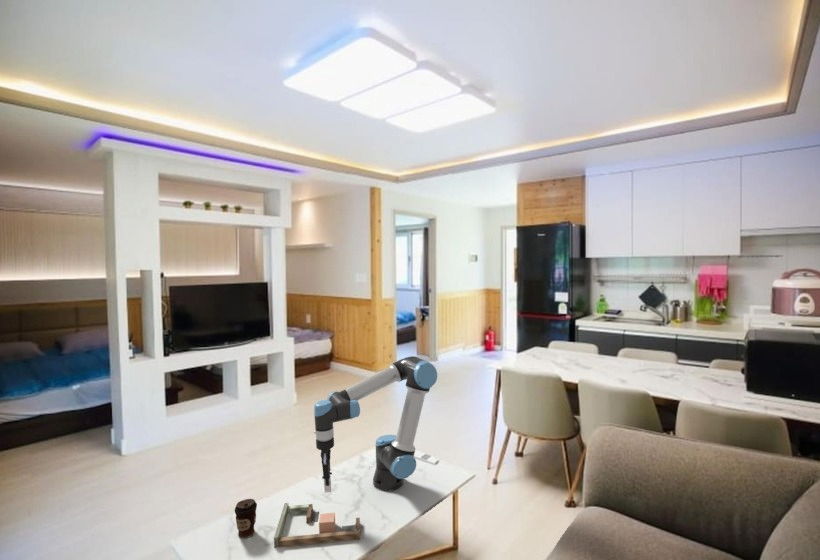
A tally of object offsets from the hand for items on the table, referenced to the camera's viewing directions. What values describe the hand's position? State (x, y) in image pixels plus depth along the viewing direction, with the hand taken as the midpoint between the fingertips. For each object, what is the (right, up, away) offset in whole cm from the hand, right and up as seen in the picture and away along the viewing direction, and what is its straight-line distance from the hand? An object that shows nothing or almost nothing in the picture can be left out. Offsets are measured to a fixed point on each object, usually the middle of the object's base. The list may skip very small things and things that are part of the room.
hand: (328, 491), depth 177 cm
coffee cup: (-32, -13, -9) cm, 35 cm away
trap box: (-3, -12, -3) cm, 13 cm away
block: (+1, -12, -7) cm, 14 cm away
